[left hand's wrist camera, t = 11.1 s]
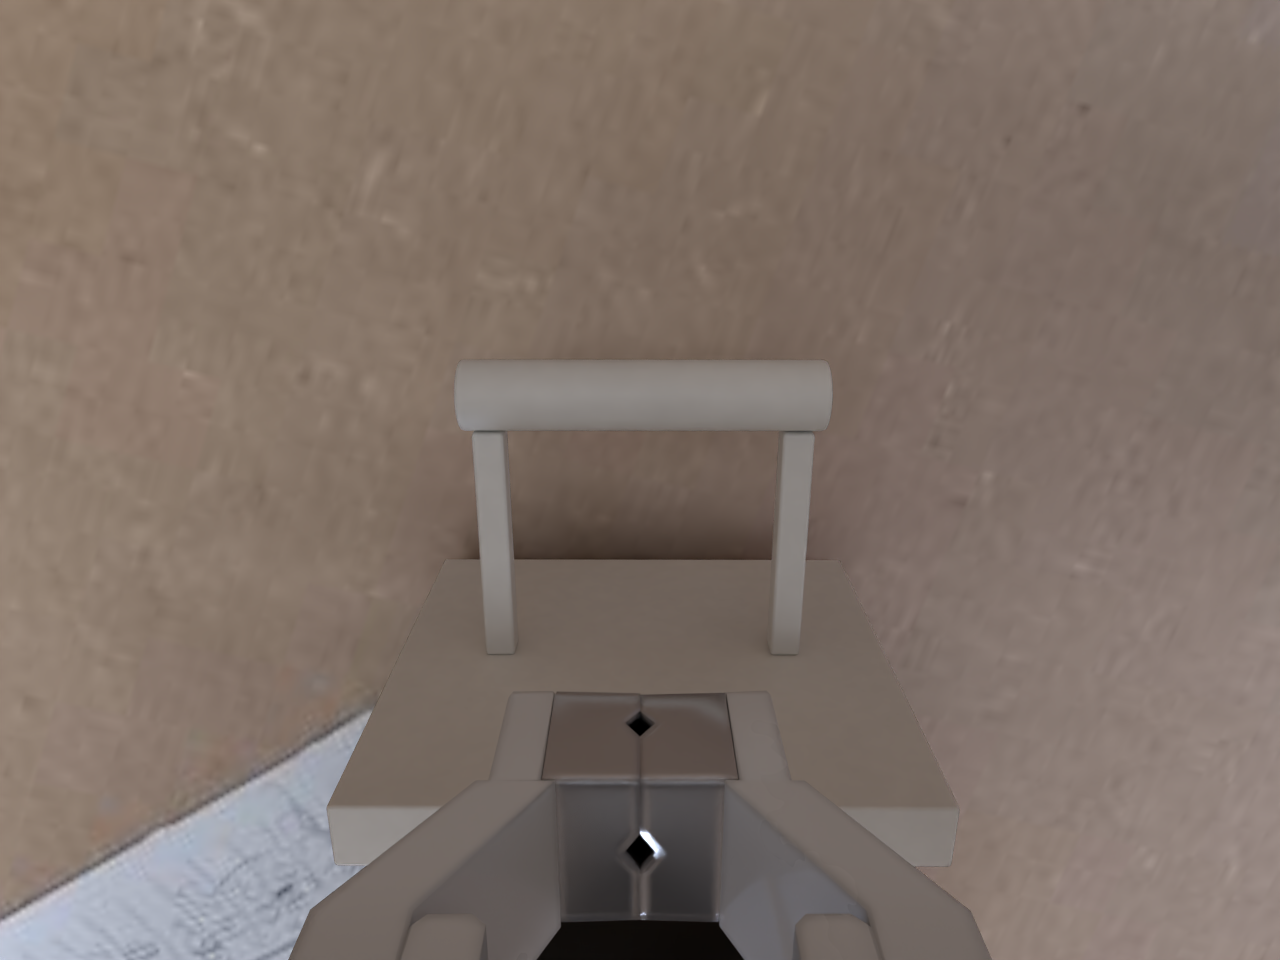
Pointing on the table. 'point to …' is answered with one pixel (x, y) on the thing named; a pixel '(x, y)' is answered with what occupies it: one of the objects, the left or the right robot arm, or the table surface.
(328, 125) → the table surface
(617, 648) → the drawer
